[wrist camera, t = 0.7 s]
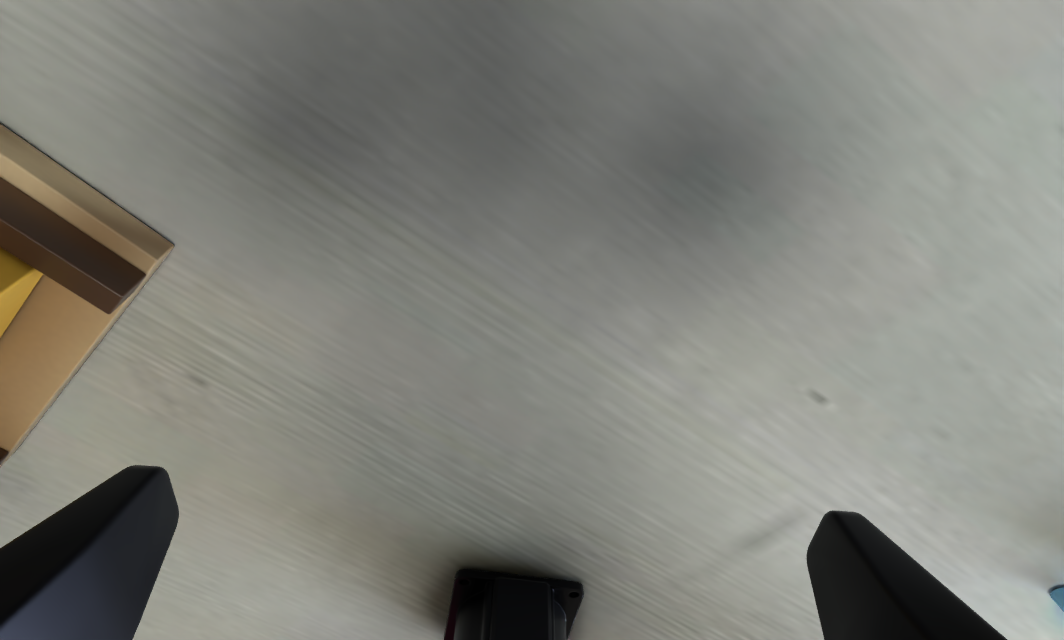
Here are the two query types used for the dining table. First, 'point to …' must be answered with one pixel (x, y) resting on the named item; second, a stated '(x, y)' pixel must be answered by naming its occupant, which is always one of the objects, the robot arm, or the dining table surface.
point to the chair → (1058, 597)
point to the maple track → (61, 279)
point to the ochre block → (14, 286)
